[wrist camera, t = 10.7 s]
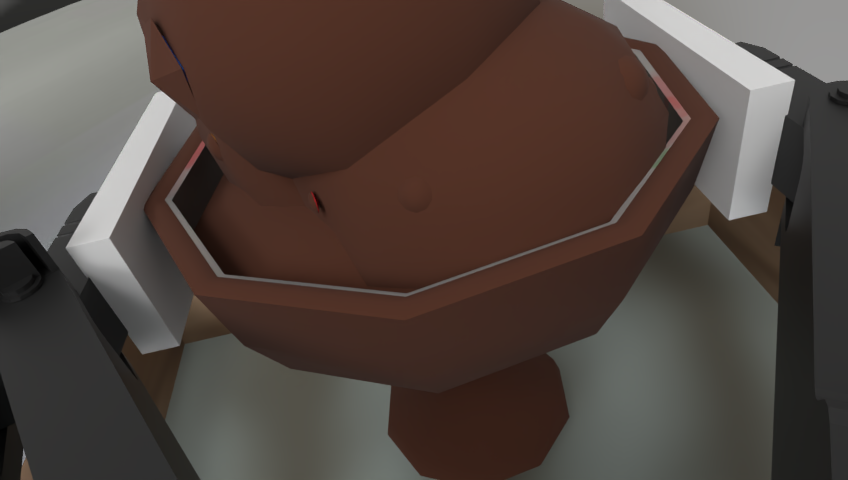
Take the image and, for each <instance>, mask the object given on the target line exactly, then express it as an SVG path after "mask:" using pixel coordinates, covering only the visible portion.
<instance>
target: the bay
mask: <svg viewBox="0 0 848 480" xmlns="http://www.w3.org/2000/svg"><path fill="white" fill-rule="evenodd" d="M785 198H786V196H785V195H784V194H782V193H781V192H780V191H779V190H778V189H777V188H776V187H774V186H773V185H772V190H771V195H770V199H769V204H768V208H767V212H764V213H759V214H755V215H750V216H746V217H742V218H737V219H733V220H728V219H727V218H726V217H725V216H724V215H723V214H722V213H721V212H720V211H719V210H718V209H717V208H716V207H715V206H714V205H713V203H712V202H711V201H710V200H709V199H708V198H707V197H706V196H705V195H704V194H703V193H702V192H701V191H700V190H699V189H698V188H697V187H696V185H695V184H694V187H693V189H692V191H691V192H690V194H689V195H688V197H687V199H686V200H685V202H684V203H683V205H682V207H681V208H680V210H679V212H678V213H677V215H676V216H675V218H674V220H673V221H672V223H671V224H670V226H669V228H668V229H667V231H666V232H665V234H664V236H663V237H662V239H661V240H660V242H659V244H658V245H657V247H656V248H655V250H654V252H653V253H652V255H651V256H650V258H649V260H648V261H647V263H646V264H645V266H644V268H643V269H642V271H641V272H640V274H639V276H638V277H637V279H636V280H635V282H634V284H633V285H632V287H631V288H630V290H629V292H628V293H627V295H626V296H625V298H624V300H623V301H622V302H621V304H620V305H619V306H618V307H617V309H616V310H615V311H614V312H613V314H612V315H611V316H610V317H609V319H608V320H607V321H606V322H605V324H604V325H603V326H602V327H601V329H600V330H599V331H598V332H597V334H595V335H592V336H590V337H587V338H584V339H582V340H579V341H576V342H574V343H571V344H569V345H566V346H563V347H561V348H558V349H555V350H553V351H550V352H547V353H546V354H548V355H549V356H550V357H551V358H553V359H554V361H555V362H556V364H557V366H558V367H559V369H560V374H561V379H562V383H563V388H564V393H565V398H566V402H567V407H568V412H569V419H568V421H567V422H566V424H565V426H564V427H563V429H562V431H561V432H560V434H559V436H558V437H557V439H556V441H555V442H554V444H553V446H552V447H551V449H550V451H549V452H548V454H547V456H546V457H545V459H544V461H543V462H542V464H541V465H540V466H538V467H535V468H533V469H530V470H528V471H525V472H523V473H520V474H518V475H515V476H513V477H511V478H508V479H506V480H771V471H772V445H773V420H774V394H775V369H776V344H777V318H778V293H779V267H780V246H774V245H775V241H776V236H777V232H778V228H779V224H780V219H781V215H782V211H783V207H784V202H785ZM122 352H123V354H124V355H125V356H126V358H127V359H128V360H129V362H130V363H131V364H132V366H133V368H134V369H135V371H136V373H137V374H138V376H139V378H140V379H141V381H142V383H143V384H144V386H145V388H146V389H147V391H148V393H149V394H150V396H151V398H152V399H153V401H154V403H155V404H156V406H157V408H158V409H159V411H160V413H161V414H162V416H163V418H164V419H165V421H166V423H167V424H168V426H169V428H170V429H171V431H172V433H173V434H174V436H175V438H176V439H177V441H178V443H179V444H180V446H181V448H182V449H183V451H184V453H185V454H186V456H187V458H188V459H189V461H190V463H191V465H192V466H193V468H194V470H195V471H196V473H197V475H198V476H199V478H200V480H437V479H432V478H428V477H423V476H420V475H419V473H418V472H417V471H416V470H415V468H414V467H413V466H412V465H411V463H410V462H409V461H408V460H407V458H406V457H405V456H404V455H403V453H402V452H401V451H400V450H399V448H398V447H397V446H396V445H395V443H394V442H393V441H392V440H391V438H390V437H389V436H388V422H389V408H390V394H391V385H385V384H379V383H373V382H367V381H361V380H355V379H349V378H343V377H337V376H331V375H325V374H319V373H313V372H307V371H301V370H295V369H290V368H288V367H286V366H284V365H282V364H280V363H278V362H276V361H274V360H272V359H270V358H268V357H266V356H264V355H262V354H260V353H258V352H256V351H254V350H252V349H250V348H248V347H246V346H244V345H243V344H242V343H241V342H240V341H239V340H238V339H237V338H236V337H235V336H234V335H233V334H232V333H231V332H230V331H229V330H228V329H227V328H226V327H225V326H224V325H223V324H222V323H221V322H220V321H219V320H218V319H217V318H216V317H215V315H214V314H213V313H212V312H211V311H210V310H209V309H208V308H207V307H206V306H205V305H204V304H203V303H202V302H201V301H200V300H199V299H198V298H197V297H196V296H195V295H193V299H192V302H191V306H190V310H189V314H188V317H187V321H186V325H185V328H184V332H183V336H182V340H181V343H180V346H177V347H173V348H168V349H164V350H159V351H155V352H151V353H146V354H142V353H141V352H140V351H139V349H138V348H137V346H136V345H135V344H134V342H133V341H132V340H131V338H130V337H129V335H127V338H126V340H125V343H124V346H123V348H122ZM21 480H33V478H32V474H31V471H30V468H29V465H28V461H27V458H26V459H25V461H24V463H23V465H22V468H21Z"/></svg>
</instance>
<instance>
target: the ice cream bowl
mask: <svg viewBox="0 0 848 480" xmlns="http://www.w3.org/2000/svg"><path fill="white" fill-rule="evenodd" d="M137 16H138V19H139V22H140V25H141V28H142V31H143V34H144V36H145V43H146V51H147V58H148V66H149V73H150V80H151V82H152V83H153V84H154V85H155V86H156V87H158V88H159V89H160V90H161V91H162V92H164V93H165V94H166V95H167V96H168V97H170V98H171V99H172V100H173V101H174V102H176V103H177V104H178V105H179V106H180V107H182V108H183V109H184V110H185V111H186V112H188V113H189V114H190V115H191V116H192V117H194V118H195V120H196V124H197V126H196V127H195V129H194V130H193V132H192V133H191V135H190V136H189V138H188V139H187V141H186V142H185V144H184V145H183V147H182V148H181V150H180V151H179V152H178V154H177V155H176V157H175V158H174V160H173V161H172V163H171V164H170V166H169V167H168V169H167V170H166V172H165V173H164V175H163V176H162V178H161V179H160V181H159V182H158V184H157V185H156V187H155V188H154V190H153V191H152V193H151V194H150V196H149V198H148V200H147V201H146V203H145V205H144V211H145V213H146V215H147V216H148V218H149V220H150V221H151V223H152V225H153V226H154V228H155V230H156V231H157V233H158V235H159V236H160V238H161V240H162V242H163V243H164V245H165V247H166V248H167V250H168V252H169V253H170V255H171V257H172V258H173V260H174V262H175V263H176V265H177V267H178V268H179V270H180V272H181V273H182V275H183V277H184V278H185V280H186V282H187V283H188V285H189V287H190V288H191V290H192V292H193V293H194V295H195V296H196V297H197V298H198V299H199V300H200V301H201V302H202V303H203V304H204V305H205V306H206V307H207V308H208V309H209V310H210V311H211V312H212V313H213V314H214V315H215V317H216V318H217V319H218V320H219V321H220V322H221V323H222V324H223V325H224V326H225V327H226V328H227V329H228V330H229V331H230V332H231V333H232V334H233V335H234V336H235V337H236V338H237V339H238V340H239V341H240V342H241V343H242V344H243V345H244V346H246V347H248V348H250V349H252V350H254V351H256V352H258V353H260V354H262V355H264V356H266V357H268V358H270V359H272V360H274V361H276V362H278V363H280V364H282V365H284V366H286V367H288V368H290V369H295V370H301V371H307V372H313V373H319V374H325V375H331V376H337V377H343V378H349V379H355V380H361V381H367V382H373V383H379V384H385V385H391V394H390V408H389V422H388V436H389V437H390V438H391V440H392V441H393V442H394V443H395V445H396V446H397V447H398V448H399V450H400V451H401V452H402V453H403V455H404V456H405V457H406V458H407V460H408V461H409V462H410V463H411V465H412V466H413V467H414V468H415V470H416V471H417V472H418V473H419V475H420V476H423V477H428V478H432V479H437V480H506V479H508V478H511V477H513V476H515V475H518V474H520V473H523V472H525V471H528V470H530V469H533V468H535V467H538V466H540V465H541V464H542V462H543V461H544V459H545V457H546V456H547V454H548V452H549V451H550V449H551V447H552V446H553V444H554V442H555V441H556V439H557V437H558V436H559V434H560V432H561V431H562V429H563V427H564V426H565V424H566V422H567V421H568V419H569V412H568V407H567V402H566V398H565V393H564V388H563V383H562V379H561V374H560V369H559V367H558V366H557V364H556V362H555V361H554V359H553V358H551V357H550V356H549V355H548V354H546V353H547V352H550V351H553V350H555V349H558V348H561V347H563V346H566V345H569V344H571V343H574V342H576V341H579V340H582V339H584V338H587V337H590V336H592V335H595V334H597V332H598V331H599V330H600V329H601V327H602V326H603V325H604V324H605V322H606V321H607V320H608V319H609V317H610V316H611V315H612V314H613V312H614V311H615V310H616V309H617V307H618V306H619V305H620V304H621V302H622V301H623V300H624V298H625V296H626V295H627V293H628V292H629V290H630V288H631V287H632V285H633V284H634V282H635V280H636V279H637V277H638V276H639V274H640V272H641V271H642V269H643V268H644V266H645V264H646V263H647V261H648V260H649V258H650V256H651V255H652V253H653V252H654V250H655V248H656V247H657V245H658V244H659V242H660V240H661V239H662V237H663V236H664V234H665V232H666V231H667V229H668V228H669V226H670V224H671V223H672V221H673V220H674V218H675V216H676V215H677V213H678V212H679V210H680V208H681V207H682V205H683V203H684V202H685V200H686V199H687V197H688V195H689V194H690V192H691V191H692V189H693V187H694V184H695V182H696V179H697V177H698V174H699V171H700V169H701V166H702V163H703V161H704V158H705V155H706V153H707V150H708V147H709V145H710V142H711V139H712V137H713V134H714V131H715V129H716V126H717V123H718V121H719V117H718V116H717V115H716V113H715V112H714V111H713V110H712V109H711V107H710V106H709V105H708V104H707V102H706V101H705V100H704V99H703V98H702V96H701V95H700V94H699V93H698V92H697V90H696V89H695V88H694V87H693V86H692V84H691V83H690V82H689V81H688V80H687V78H686V77H685V76H684V75H683V73H682V72H681V71H680V70H679V69H678V67H677V66H676V65H675V64H674V63H673V61H672V60H671V59H670V58H669V57H668V55H667V54H666V53H665V52H664V51H663V50H662V49H661V48H660V47H659V46H657V45H656V44H653V43H649V42H644V41H640V40H635V39H631V38H626V37H623V35H622V34H621V32H620V30H619V29H618V27H617V26H615V25H613V24H611V23H609V22H607V21H605V20H602V19H600V18H598V17H596V16H594V15H592V14H590V13H588V12H585V11H583V10H581V9H579V8H577V7H575V6H573V5H571V4H568V3H566V2H564V1H562V0H138V5H137Z"/></svg>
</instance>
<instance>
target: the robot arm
mask: <svg viewBox="0 0 848 480" xmlns="http://www.w3.org/2000/svg"><path fill="white" fill-rule="evenodd" d="M604 20H605V21H607V22H609V23H611V24H613V25H615V26H617V27H618V29H619V30H620V32H621V34H622V35H623V37H626V38H631V39H635V40H640V41H644V42H649V43H653V44H656V45H657V46H659V47H660V48H661V49H662V50H663V51H664V52H665V53H666V54H667V55H668V57H669V58H670V59H671V60H672V61H673V63H674V64H675V65H676V66H677V67H678V69H679V70H680V71H681V72H682V73H683V75H684V76H685V77H686V78H687V80H688V81H689V82H690V83H691V84H692V86H693V87H694V88H695V89H696V90H697V92H698V93H699V94H700V95H701V96H702V98H703V99H704V100H705V101H706V102H707V104H708V105H709V106H710V107H711V109H712V110H713V111H714V112H715V113H716V115H717V116H718V117H719V121H718V123H717V126H716V129H715V131H714V134H713V137H712V139H711V142H710V145H709V147H708V150H707V153H706V155H705V158H704V161H703V163H702V166H701V169H700V171H699V174H698V177H697V179H696V182H695V185H696V187H697V188H698V189H699V190H700V191H701V192H702V193H703V194H704V195H705V196H706V197H707V198H708V199H709V200H710V201H711V202H712V203H713V205H714V206H715V207H716V208H717V209H718V210H719V211H720V212H721V213H722V214H723V215H724V216H725V217H726V218H727V219H728V220H733V219H737V218H742V217H746V216H750V215H755V214H759V213H764V212H767V208H768V204H769V199H770V195H771V190H772V185H773V186H774V187H776V188H777V189H778V190H779V191H780V192H781V193H782V194H784V195H785V196H786V198H785V202H784V207H783V211H782V215H781V219H780V224H779V228H778V232H777V236H776V241H775V245H774V246H780V267H779V293H778V318H777V344H776V369H775V394H774V420H773V445H772V471H771V480H848V81H836V82H831V83H825V82H823V81H821V80H819V79H817V78H816V77H814V76H812V75H811V74H809V73H807V72H805V71H804V70H802V69H800V68H798V67H797V66H792V64H791V63H790V62H788V61H786V60H785V59H780V57H779V56H778V55H776V54H774V53H772V52H771V51H769V50H767V49H765V48H763V47H759V46H755V45H751V44H747V43H743V42H739V43H733V42H731V41H730V40H728V39H726V38H725V37H723V36H721V35H720V34H718V33H716V32H715V31H713V30H711V29H710V28H708V27H707V26H705V25H703V24H701V23H700V22H698V21H697V20H695V19H693V18H692V17H690V16H688V15H687V14H685V13H683V12H682V11H680V10H678V9H677V8H675V7H673V6H672V5H670V4H669V3H667V2H665V1H664V0H604ZM196 126H197V124H196V120H195V118H194V117H192V116H191V115H190V114H189V113H188V112H186V111H185V110H184V109H183V108H182V107H180V106H179V105H178V104H177V103H176V102H174V101H173V100H172V99H171V98H170V97H168V96H167V95H166V94H165V93H164V92H162V91H161V92H157V93H155V95H154V96H153V98H152V100H151V102H150V103H149V105H148V107H147V108H146V110H145V112H144V114H143V115H142V117H141V119H140V120H139V122H138V124H137V126H136V127H135V129H134V131H133V133H132V134H131V136H130V138H129V139H128V141H127V143H126V145H125V146H124V148H123V150H122V151H121V153H120V155H119V157H118V158H117V160H116V162H115V163H114V165H113V167H112V169H111V170H110V172H109V174H108V176H107V177H106V179H105V181H104V182H103V184H102V186H101V188H100V189H99V191H98V192H96V193H92V194H90V195H89V196H87V197H86V198H85V199H84V200H83V201H82V202H81V203H80V204H78V205H77V206H76V207H75V208H74V209H73V211H72V212H71V214H70V215H69V217H68V219H67V220H66V222H65V226H63V227H62V228H61V230H60V232H59V233H58V235H57V236H58V238H55V240H54V241H53V243H52V245H51V246H50V248H49V249H48V251H46V250H45V249H44V247H43V246H42V245H41V243H40V242H39V241H38V239H37V238H36V237H35V235H34V234H33V233H32V232H30V231H29V230H27V229H14V230H9V231H5V232H1V233H0V480H21V468H22V456H23V448H24V452H25V455H26V458H27V461H28V465H29V468H30V471H31V474H32V478H33V480H200V478H199V476H198V475H197V473H196V471H195V470H194V468H193V466H192V465H191V463H190V461H189V459H188V458H187V456H186V454H185V453H184V451H183V449H182V448H181V446H180V444H179V443H178V441H177V439H176V438H175V436H174V434H173V433H172V431H171V429H170V428H169V426H168V424H167V423H166V421H165V419H164V418H163V416H162V414H161V413H160V411H159V409H158V408H157V406H156V404H155V403H154V401H153V399H152V398H151V396H150V394H149V393H148V391H147V389H146V388H145V386H144V384H143V383H142V381H141V379H140V378H139V376H138V374H137V373H136V371H135V369H134V368H133V366H132V364H131V363H130V362H129V360H128V359H127V358H126V356H125V355H124V354H123V352H122V348H123V346H124V343H125V340H126V338H127V335H129V337H130V338H131V340H132V341H133V342H134V344H135V345H136V346H137V348H138V349H139V351H140V352H141V353H142V354H146V353H151V352H155V351H159V350H164V349H168V348H173V347H177V346H180V343H181V340H182V336H183V332H184V328H185V325H186V321H187V317H188V314H189V310H190V306H191V302H192V299H193V295H194V293H193V292H192V290H191V288H190V287H189V285H188V283H187V282H186V280H185V278H184V277H183V275H182V273H181V272H180V270H179V268H178V267H177V265H176V263H175V262H174V260H173V258H172V257H171V255H170V253H169V252H168V250H167V248H166V247H165V245H164V243H163V242H162V240H161V238H160V236H159V235H158V233H157V231H156V230H155V228H154V226H153V225H152V223H151V221H150V220H149V218H148V216H147V215H146V213H145V211H144V205H145V203H146V201H147V200H148V198H149V196H150V194H151V193H152V191H153V190H154V188H155V187H156V185H157V184H158V182H159V181H160V179H161V178H162V176H163V175H164V173H165V172H166V170H167V169H168V167H169V166H170V164H171V163H172V161H173V160H174V158H175V157H176V155H177V154H178V152H179V151H180V150H181V148H182V147H183V145H184V144H185V142H186V141H187V139H188V138H189V136H190V135H191V133H192V132H193V130H194V129H195V127H196Z"/></svg>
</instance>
